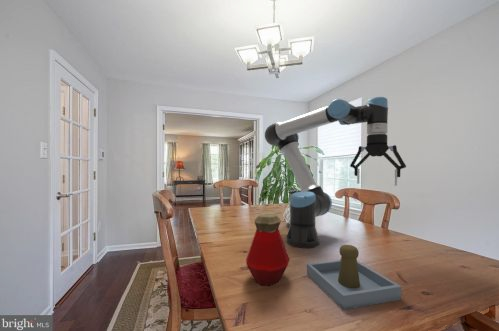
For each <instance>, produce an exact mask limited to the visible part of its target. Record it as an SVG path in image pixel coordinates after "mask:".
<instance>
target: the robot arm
mask: <svg viewBox="0 0 499 331" xmlns="http://www.w3.org/2000/svg"><path fill="white" fill-rule="evenodd" d="M388 105H389V102H388V98H386V97H384V96H376V97H374V96H373V97H371V98H369V99H368V100H367V103H366V104H364V105H358V106H357V105H356V106H355V105H353V104H352V103H350V102H348V101H347V100H345V99H342V98H336V99H334V100H332V101H331V102H329V104H328V105H326V106H324V107H321V108H318V109H316V110H313V111H310V112H308V113H305V114H302V115H299V116H297V117H294V118H291V119H288V120H285V121H277V122H275V123H272V124H270V125H268V127H267V128H266V129H265V131H264V139H265V142H267V143H268V144H269V145H270V146H275V147H278V150H279V152H280V153H281V154H283V155H284V156H285V158H286V161H287V162H288V165H289V167H290V170H291V171H292V174H293V176H294V178H295V180H296V182H297V185H298V187H299V189H300V191H297V192H294V193H293V192H292V193H291V195H290V200H289V227H288V231H287V233H286V236H285V237H286V239H285V240H286V243H287V244H288V245H290V246H293V247H297V248H303V249H311V248H317V247H318V246H319V245H320V237H319V235H318V231H317V228H316V217H317V218H318V217H320V216H324V215H326V214H327V213H329V212H330V211H331V209H332V205H333V202H332V198H331V197H330V195H329V194H328V193H327V192H325V191H324V189H323V188H322V186H321V185H319V184H317V182H316V181H315V179H314V177H313V174H312V173H311V170H310V169H309V167H308V165H307V163H306V161H305V159H304V157H303V155H302V153H301V151H300V149H299V145H300V143H299V139H300V138H299V134H300V133H303V132H305V131H308V130H313V129H315V128H316V129H317V128H319V127H322V126H326V125H329V124H332V123H335V122H338V123H339V125H341V126H346V125H347V126H350V125H355V124H362V123H366V146H361V145H359V146H358V150H357V153H356V154H355V156H354V158H352V159H353V160H352V161H351V163H350V165H349V167H351V168H353V169H354V176H355V177H356V184H358V185H359V184H360V168H359V167H360V166H362V164H363V163H364V162H365V161H366V160H368V158H369V157H384V158H385V159H386V160H387V161H388V162H389V163H390V164H391V165H392V166H393V167H394V168H395V169H393V186H394V187H395V186H398V178H401V170H402V169H405V168H407V164H405V161H404V160H403V158H402V157H401V155H400V154H399V152H398V149H397V145H396V144H394V145H388V114H389V112H388V111H389V107H388ZM364 150H365V151H366V152H367V153H366V154H365V155H364V156H363V157H362V159H360V160H359V162H358V163H356V162H357V161H358V159H359V157H360V155H361V153H362V152H364ZM388 150H390V151H391V152H392V153H393V155H394V156H395V158H396V160H397V162H398V163H399V164H398V163H397V162H396V161H395V160H394V159H393V158H392V157H391V156H390V155H389V154H388V153H387V152H388Z"/></svg>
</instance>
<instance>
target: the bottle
mask: <svg viewBox="0 0 499 331" xmlns="http://www.w3.org/2000/svg"><path fill="white" fill-rule="evenodd" d="M253 221H254V225H255V228H256V230H255V233H254V236H253V239H252V242H251V244H250V247H249V250H248V252H247V254H246V255H247V256H246V259H245V262H246V266H247V268H248V271H249V272H250V274H251V277H252V278H253V280H254V282H255V283H257V284H259V285H260V286H266V287H272V286H275V285H277V284H278V283H280V281H281V280H282V278H283V276H284V274H285V271H286V270H287V268H288V266H289V264H290V260H291V259H290V257H289V254H288V252H287V249H286V248H287V247H286V246H285V243H284V240H283V238H282V236H281V232H280V230H279V228H280V224H281V222H282V220H281V218H280V217H279V216H278V215H277V214H276V213H273V212H263V214H262V213H260V214H258V215H257V217H256V218H254V219H253Z"/></svg>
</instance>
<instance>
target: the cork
mask: <svg viewBox="0 0 499 331" xmlns="http://www.w3.org/2000/svg"><path fill="white" fill-rule="evenodd" d="M359 253H360V252H359V250H358V248H357V247H355V246H354V245H352V244H343V245H340V247H339V254H340V256H341V257H340V260H341V263H340V270H339V277H338V282H339V284H341V285H342V286H344V287H347V288H354V289H355V288H359V287H360V280H359V273H358V266H357V261H358V260H357V258H358V257H359Z"/></svg>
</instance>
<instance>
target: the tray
mask: <svg viewBox="0 0 499 331" xmlns="http://www.w3.org/2000/svg"><path fill="white" fill-rule="evenodd" d="M340 263H341V259H338V260H337V259H336V260H329V261H320V262H310V263H306V275H307V276H308V277H309V278H310V279H311V280H312V281H313V282H314V284H316V285H317V286H318V287H319V288H320V289H321V290H322V291H323V292H324V293H325V294H326V295H328V296H329V298H330V299H331V300H333V301H334V303H336V305H338V306H339V307H340V308H341V309H342V310H343V311H346V310H350V309H349V308H352V309H358V308H362V306H363V307H367V306H368V305H369V306H372V305H373V304H374V305H378V304H379V303H380V304H384V303H388V302H389V303H390V302H391V303H392V302H395V301H396V302H397V301H401V300H402V286H401V285H399V284H398V283H396V282H394V281H393V280H391V279H389V278H388V277H386V276H384V275H382V274H381V273H379V272H377V271H375V270H374V269H372V268H370V267H368V266H367V265H365V264H363V263H362V262H360V261H359V260H357V266H358V273H359V280H360V287H359V288H355V289H354V288H347V287H344V286H342V285H341V284H339V282H338V277H339V270H340ZM380 304H379V305H380ZM374 305H373V306H374ZM355 307H356V308H355ZM345 309H346V310H345Z"/></svg>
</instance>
